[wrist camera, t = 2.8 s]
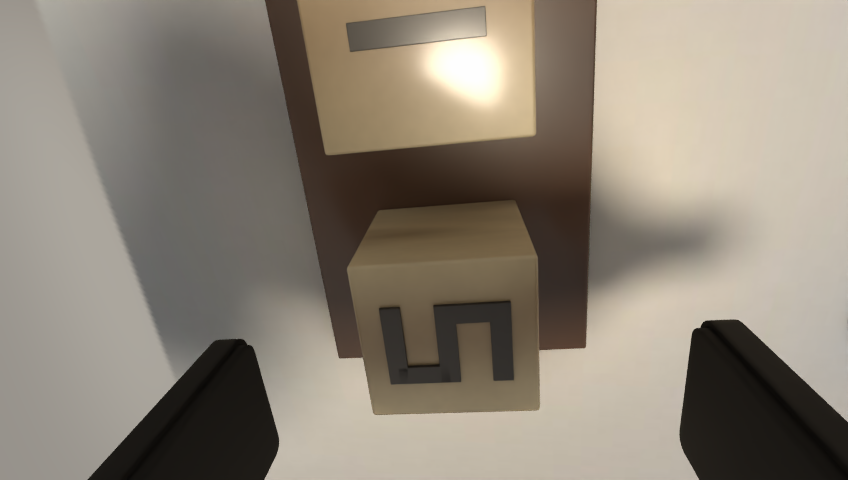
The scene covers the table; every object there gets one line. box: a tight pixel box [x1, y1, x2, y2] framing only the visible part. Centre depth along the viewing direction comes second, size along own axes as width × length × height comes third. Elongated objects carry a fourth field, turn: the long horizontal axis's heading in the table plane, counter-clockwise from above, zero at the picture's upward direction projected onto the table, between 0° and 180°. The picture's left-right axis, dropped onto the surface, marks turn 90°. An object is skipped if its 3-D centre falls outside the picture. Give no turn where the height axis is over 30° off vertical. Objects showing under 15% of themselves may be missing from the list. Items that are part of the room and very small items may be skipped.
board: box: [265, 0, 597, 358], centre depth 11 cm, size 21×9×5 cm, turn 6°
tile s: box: [347, 200, 540, 415], centre depth 13 cm, size 4×4×4 cm
